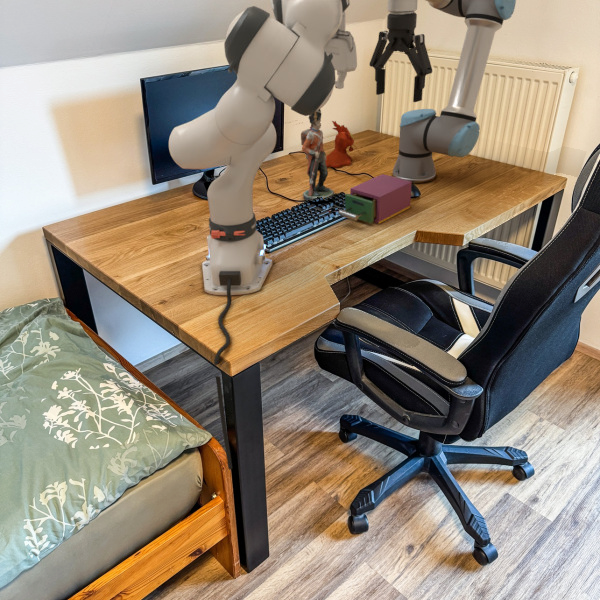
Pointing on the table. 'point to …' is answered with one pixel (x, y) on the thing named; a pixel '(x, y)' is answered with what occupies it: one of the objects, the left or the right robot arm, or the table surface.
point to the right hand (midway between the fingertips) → (398, 97)
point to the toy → (340, 148)
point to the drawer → (359, 208)
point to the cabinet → (386, 195)
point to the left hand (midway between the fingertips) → (328, 85)
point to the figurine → (315, 158)
